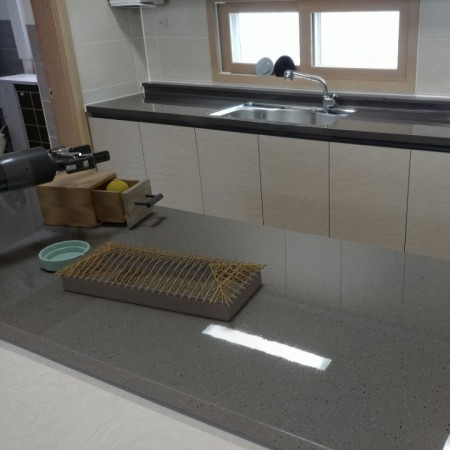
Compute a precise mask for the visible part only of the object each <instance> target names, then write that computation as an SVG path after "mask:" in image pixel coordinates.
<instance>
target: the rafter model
mask: <svg viewBox="0 0 450 450" xmlns="http://www.w3.org/2000/svg"><path fill="white" fill-rule="evenodd" d="M89 253H92V254H89ZM89 253H87V254H88V255H90V256H88V255H85V256H88V257H85V256H81V259H77V260H81V261H77V260H75V261H77V262H78V263H77V262H74V263H75V264H74V263H70V266H66V267H67V268H66V267H63V268H64V269H61V270H59V271H55V272H54V273H52V276H56V275H57V277H59V276H60V278H61V281H62V287H63V291H69V292H74V293H79V294H84V295H90V296H94V297H100V298H104V299H111V300H115V301H121V302H126V303H131V304H136V305H141V306H146V307H152V308H157V309H162V310H167V311H173V312H178V313H183V314H189V315H193V316H197V317H204V318H209V319H213V320H214V319H215V320H219V321H225V322H230V321H231V320H232V318H233V317H234V316H235V315H236V314H237V313H238V311H239V310H240V309H241V308H242V307H243V305H245V303H247V301H248V300H249V299H250V298H251V297H252V295H253V294H254V293H255V292H256V291H257V290H258V289H259V288H260V286H261V285H262V284H263V281H262V280H263V279H262V270H264V269H265V267H267V266H268V264H262V263H255V262H251V261H248V262H245V261H244V260H242V261H238V260H237V259H236V260H232V259H225V258H224V257H222V258H218V257H212V255H210V256H205V254H203V255H199V254H198V253H197V254H193V253H186V252H180V251H174V250H168V249H163V250H162V248H157V249H156V248H155V247H151V248H150V247H149V246H147V247H144V246H143V245H142V246H138V245H132V244H127V243H122V242H113V241H109V242H108V241H106V242H104V243H102V245H101V244H100V245H99V246H97V248H93V249H91V252H89ZM73 264H74V265H73ZM100 266H101V267H100ZM107 267H108V268H107ZM104 269H105V271H103V270H104ZM113 269H114V270H113ZM63 270H64V271H63ZM109 271H111V272H109ZM88 274H89V275H88ZM146 274H148V275H146ZM152 275H155V276H153V277H152ZM159 276H161V277H160V278H159ZM141 277H142V278H141ZM149 277H150V279H148V278H149ZM166 277H168V278H167V279H166ZM156 278H157V280H155V279H156ZM163 278H164V281H162V279H163ZM173 278H175V279H174V280H173ZM180 279H181V281H180ZM170 280H171V282H169V281H170ZM187 280H188V281H189V282H187ZM222 280H223V281H222ZM161 281H162V282H161ZM184 281H185V282H184ZM209 281H211V282H209ZM168 282H169V283H168ZM176 282H178V283H177V284H176ZM194 282H196V283H194ZM183 283H185V284H184V285H183ZM202 283H203V284H202ZM231 283H232V284H231ZM191 284H192V285H191ZM201 284H202V285H201ZM207 284H210V286H208V285H207ZM190 285H191V286H190ZM198 285H199V287H198ZM217 285H218V286H217ZM145 286H146V287H145ZM154 286H155V287H154ZM189 286H190V287H189ZM205 286H206V288H205ZM213 286H214V288H213ZM152 287H154V288H152ZM161 287H162V288H161ZM169 287H170V288H169ZM160 288H161V289H160ZM168 288H169V289H168ZM204 288H205V289H204ZM212 288H213V289H212ZM167 289H168V290H167ZM175 289H177V290H176V291H175ZM183 290H184V291H183ZM191 290H192V291H191ZM173 291H175V292H173ZM182 291H183V292H182ZM190 291H191V293H190V294H188V293H189V292H190ZM181 292H182V293H181ZM210 292H211V293H210ZM197 293H198V294H197ZM205 293H206V294H205ZM231 293H232V294H231ZM196 294H197V296H196ZM204 294H205V296H204V297H202V296H203V295H204ZM212 294H213V295H212ZM211 295H212V297H211V298H209V297H210V296H211ZM220 299H221V300H220Z"/></svg>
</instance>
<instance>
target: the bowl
mask: <svg viewBox="0 0 450 450" xmlns="http://www.w3.org/2000/svg"><path fill="white" fill-rule="evenodd" d="M89 252H92V247H91V245H90V244H89V242H87V241H84V240H80V239H79V240H78V239H74V240H72V239H71V240H63V241H60V242H55V243H52V244H51V245H48V246H46V247H44V248H42V250H40V252H39V253H38V259H39V260H38V261H39V264H40V267H41V268H42V269H43V270H45V271H49V272H57V271H59V270H61V269H64V268H63V267H66V266H70V263H74V262H77V261H81V260H77V259H81V256H85V255H88V254H87V253H89ZM89 254H92V253H89ZM88 256H90V255H88ZM88 256H85V257H88ZM75 260H77V261H75ZM77 263H78V262H77ZM74 264H75V263H74ZM74 264H73V265H74ZM66 268H67V267H66ZM63 271H64V270H63Z"/></svg>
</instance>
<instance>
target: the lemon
mask: <svg viewBox="0 0 450 450" xmlns="http://www.w3.org/2000/svg"><path fill="white" fill-rule="evenodd" d="M118 179H119V178H117V179H115V180H114V181H112V182H111V183H110V184H109V185H108V186H107V189H106V191H120V194H121V200H122V205H123V211H124V209H125V208H124V203H123V197H122V193H123V192H124V191H126V190H127V189H129V187H128V185H127V184H126V183H125V182H123V181H120V180H118Z"/></svg>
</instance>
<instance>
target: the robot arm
mask: <svg viewBox="0 0 450 450" xmlns="http://www.w3.org/2000/svg"><path fill="white" fill-rule="evenodd" d="M110 160H111V154H110V151H109V150H107V149H105V150H101V151H96V152H92V147H91V145H90V144H89V143H86V144H82V145H76V146H73V147H72V146H65V145H61V146H57V147H53V148H49V149H46V148H44V147H43V146H34V147H31V148H25V149H21V150H16V151H11V152H7V153H3V154H0V195H1V194H5V193H10V192H17V191H22V190H26V189H29V188H34V187H35V186H38V185H42V184H46V183H50V182H52V181H53V180H54V177H55V176H56V173H57V172H60V173H63V172H66V173H67V174H72V173H76V172H81V171H90V170H93V169H96V165H97V164H101V163H105V162H109V161H110ZM86 161H87V162H86Z"/></svg>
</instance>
